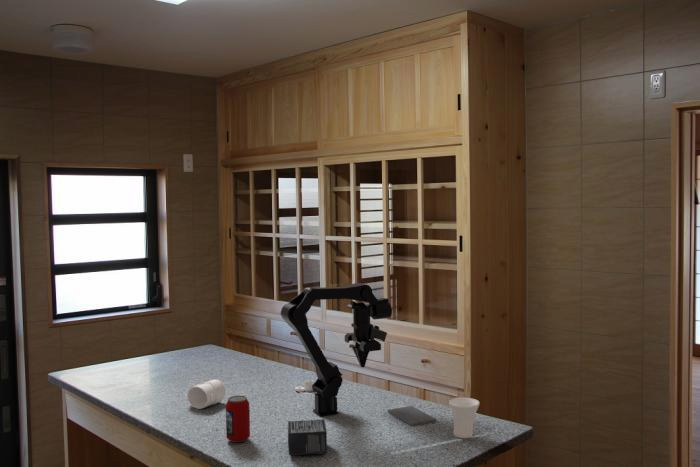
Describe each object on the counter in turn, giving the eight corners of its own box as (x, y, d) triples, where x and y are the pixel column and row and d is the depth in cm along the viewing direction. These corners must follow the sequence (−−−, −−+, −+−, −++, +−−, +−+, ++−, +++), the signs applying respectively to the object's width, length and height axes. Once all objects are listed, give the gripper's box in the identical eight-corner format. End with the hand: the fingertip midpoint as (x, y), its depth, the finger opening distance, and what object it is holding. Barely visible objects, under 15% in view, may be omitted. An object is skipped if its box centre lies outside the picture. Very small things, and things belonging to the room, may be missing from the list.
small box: (324, 441, 184) (288, 442, 183) (324, 418, 184) (287, 419, 183) (326, 454, 174) (287, 456, 173) (326, 430, 174) (287, 432, 173)
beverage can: (227, 435, 190) (226, 395, 189) (250, 434, 190) (250, 394, 190) (225, 443, 183) (224, 402, 183) (249, 442, 184) (248, 401, 183)
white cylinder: (227, 404, 221) (227, 381, 221) (207, 411, 213) (207, 387, 213) (202, 399, 227) (201, 376, 227) (182, 406, 220) (181, 382, 219)
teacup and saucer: (292, 393, 233) (292, 382, 233) (302, 387, 240) (302, 377, 240) (314, 396, 230) (313, 384, 229) (323, 390, 237) (323, 379, 237)
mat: (411, 426, 195) (411, 423, 195) (387, 412, 209) (387, 409, 209) (436, 421, 199) (436, 419, 199) (411, 408, 213) (411, 405, 213)
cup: (460, 442, 181) (460, 407, 181) (443, 432, 190) (442, 398, 189) (486, 437, 185) (486, 403, 184) (468, 427, 193) (468, 394, 193)
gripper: (395, 323, 210) (396, 370, 210) (373, 314, 227) (374, 358, 228) (363, 326, 206) (364, 374, 206) (343, 317, 223) (344, 362, 224)
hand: (362, 367), depth 216 cm, fingers closed
